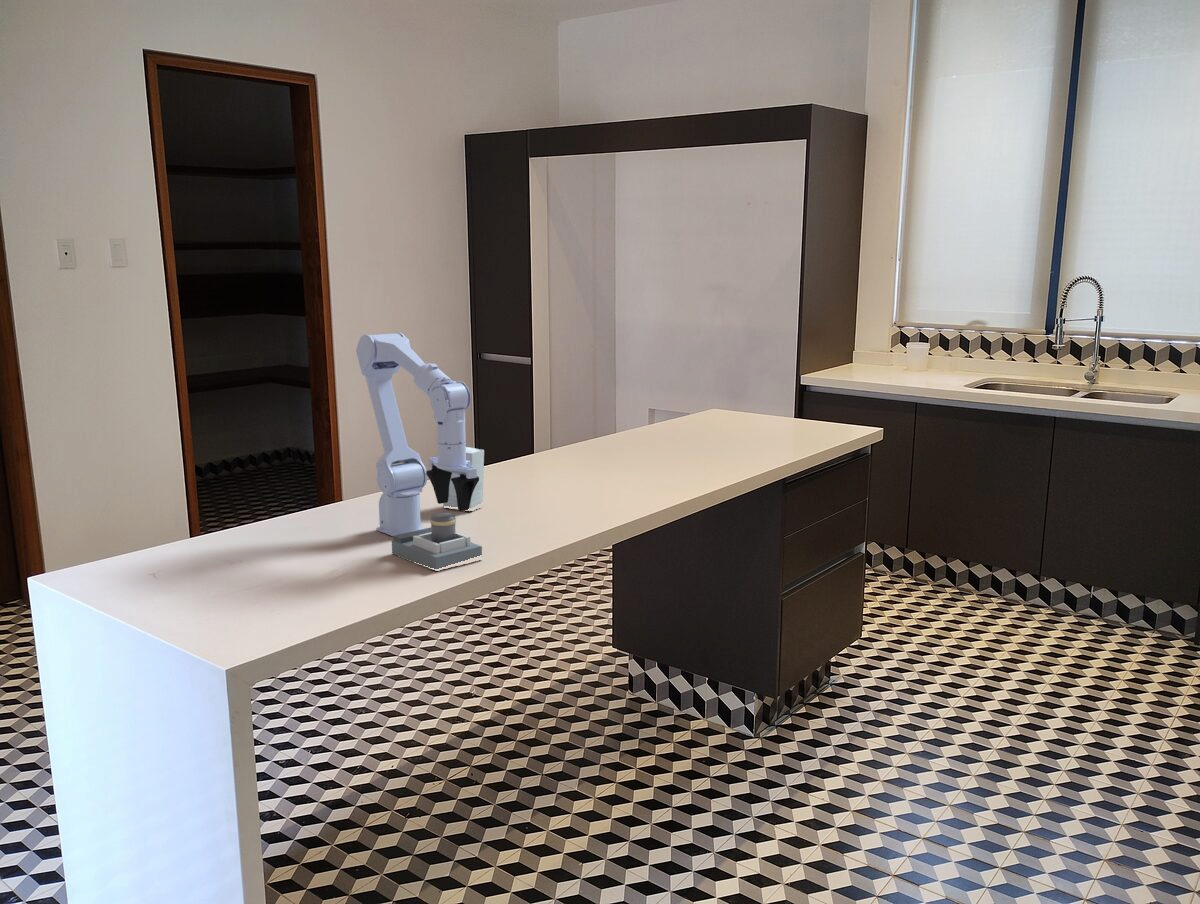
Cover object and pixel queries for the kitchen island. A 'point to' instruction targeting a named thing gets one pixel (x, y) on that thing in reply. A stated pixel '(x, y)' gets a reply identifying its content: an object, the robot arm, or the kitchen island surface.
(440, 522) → the lens
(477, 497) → the skincare box
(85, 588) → the kitchen island surface
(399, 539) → the camera body
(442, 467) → the robot arm
